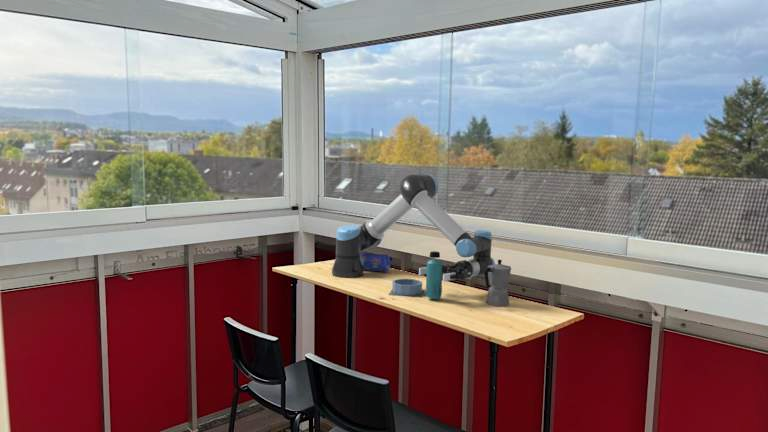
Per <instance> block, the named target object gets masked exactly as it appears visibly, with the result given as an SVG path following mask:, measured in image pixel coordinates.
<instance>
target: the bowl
mask: <svg viewBox="0 0 768 432" xmlns="http://www.w3.org/2000/svg"><path fill="white" fill-rule="evenodd" d="M391 285H392V286H391V287H392V288H391V290H393V293H394V294H397V295H403V296H402V297H408V296H415V295H420V294H421V293H422V289H423V281H421V280H419V279H415V278H414V279H413V278H398V279H397V278H396V279H393V280H392V284H391Z"/></svg>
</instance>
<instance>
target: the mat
mask: <svg viewBox="0 0 768 432" xmlns="http://www.w3.org/2000/svg"><path fill="white" fill-rule="evenodd" d="M425 292H426V288H425V289H424V288H422V293H421V294H420V295H415V296H407V297H409V298H411V297H412V298H422V297H423V295H424V294H425ZM388 296H397V297H404V296H403V295H397V294H394V293H393V290H392V289H391V290H390V292H389V293H388Z"/></svg>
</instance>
